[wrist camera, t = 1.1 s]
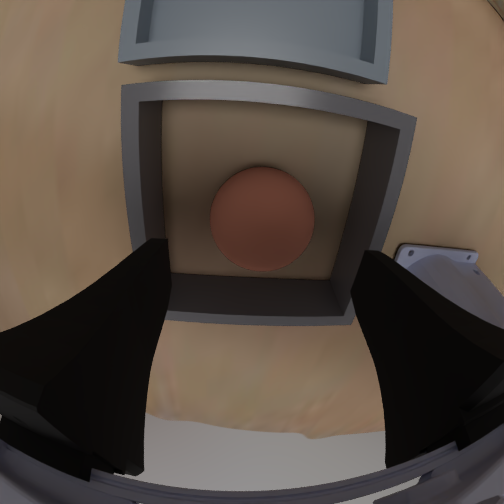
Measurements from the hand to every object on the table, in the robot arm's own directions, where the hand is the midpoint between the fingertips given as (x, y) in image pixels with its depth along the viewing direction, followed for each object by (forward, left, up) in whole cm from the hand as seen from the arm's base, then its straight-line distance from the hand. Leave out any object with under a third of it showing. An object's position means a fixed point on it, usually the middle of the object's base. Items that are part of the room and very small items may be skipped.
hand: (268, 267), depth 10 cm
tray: (+1, -12, -7) cm, 14 cm away
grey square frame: (0, 0, -7) cm, 7 cm away
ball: (0, 0, -4) cm, 4 cm away
